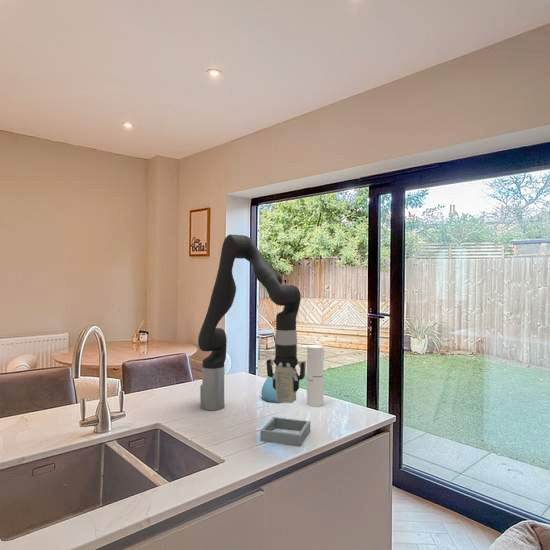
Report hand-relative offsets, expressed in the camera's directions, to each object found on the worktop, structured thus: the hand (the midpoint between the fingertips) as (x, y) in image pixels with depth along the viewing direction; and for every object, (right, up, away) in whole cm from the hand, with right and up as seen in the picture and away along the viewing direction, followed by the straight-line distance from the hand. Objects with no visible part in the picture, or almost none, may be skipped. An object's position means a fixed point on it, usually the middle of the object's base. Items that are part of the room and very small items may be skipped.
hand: (285, 390), depth 143 cm
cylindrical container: (+14, -16, +35) cm, 41 cm away
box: (0, -16, 0) cm, 16 cm away
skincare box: (0, -4, 0) cm, 4 cm away
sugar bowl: (-2, -16, +44) cm, 47 cm away
